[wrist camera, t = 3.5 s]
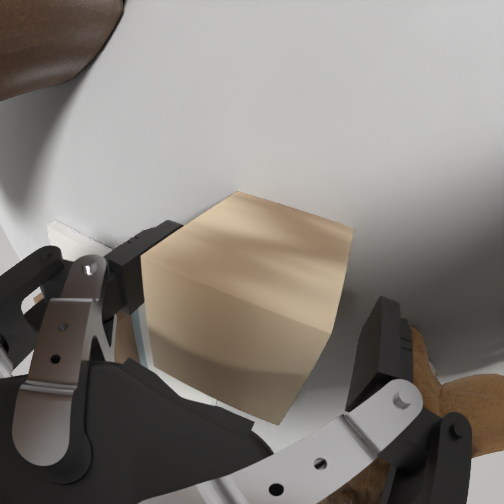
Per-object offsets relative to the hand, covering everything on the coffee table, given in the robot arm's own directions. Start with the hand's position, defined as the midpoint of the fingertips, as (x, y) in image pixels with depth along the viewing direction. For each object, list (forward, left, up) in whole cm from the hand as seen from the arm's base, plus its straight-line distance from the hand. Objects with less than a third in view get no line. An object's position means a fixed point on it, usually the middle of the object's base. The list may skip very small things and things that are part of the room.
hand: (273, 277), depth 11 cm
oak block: (0, 0, -2) cm, 2 cm away
